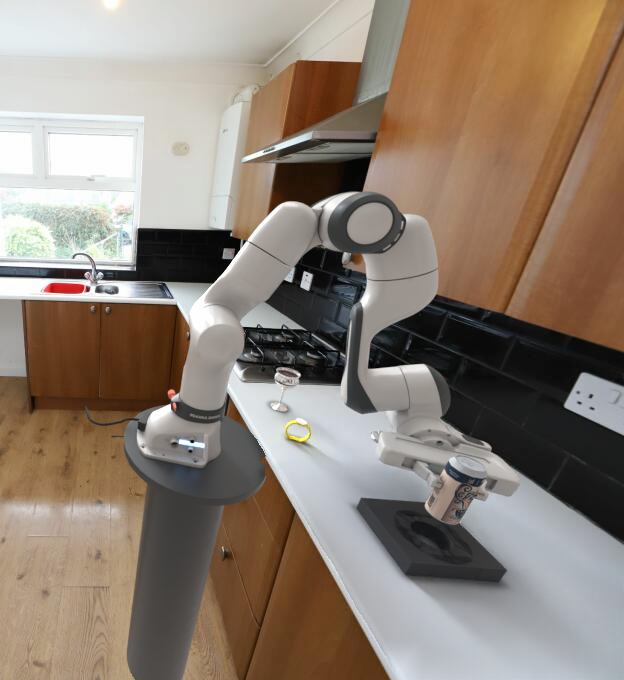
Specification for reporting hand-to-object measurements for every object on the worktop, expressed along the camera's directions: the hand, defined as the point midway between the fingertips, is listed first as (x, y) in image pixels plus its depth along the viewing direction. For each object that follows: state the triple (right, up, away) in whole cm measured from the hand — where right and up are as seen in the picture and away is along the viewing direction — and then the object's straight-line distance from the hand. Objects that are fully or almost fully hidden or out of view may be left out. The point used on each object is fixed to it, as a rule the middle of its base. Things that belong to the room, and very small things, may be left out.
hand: (459, 491), depth 60 cm
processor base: (0, -13, +7) cm, 14 cm away
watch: (-10, -1, +34) cm, 36 cm away
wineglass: (-8, +5, +49) cm, 50 cm away
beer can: (0, -6, +3) cm, 7 cm away
